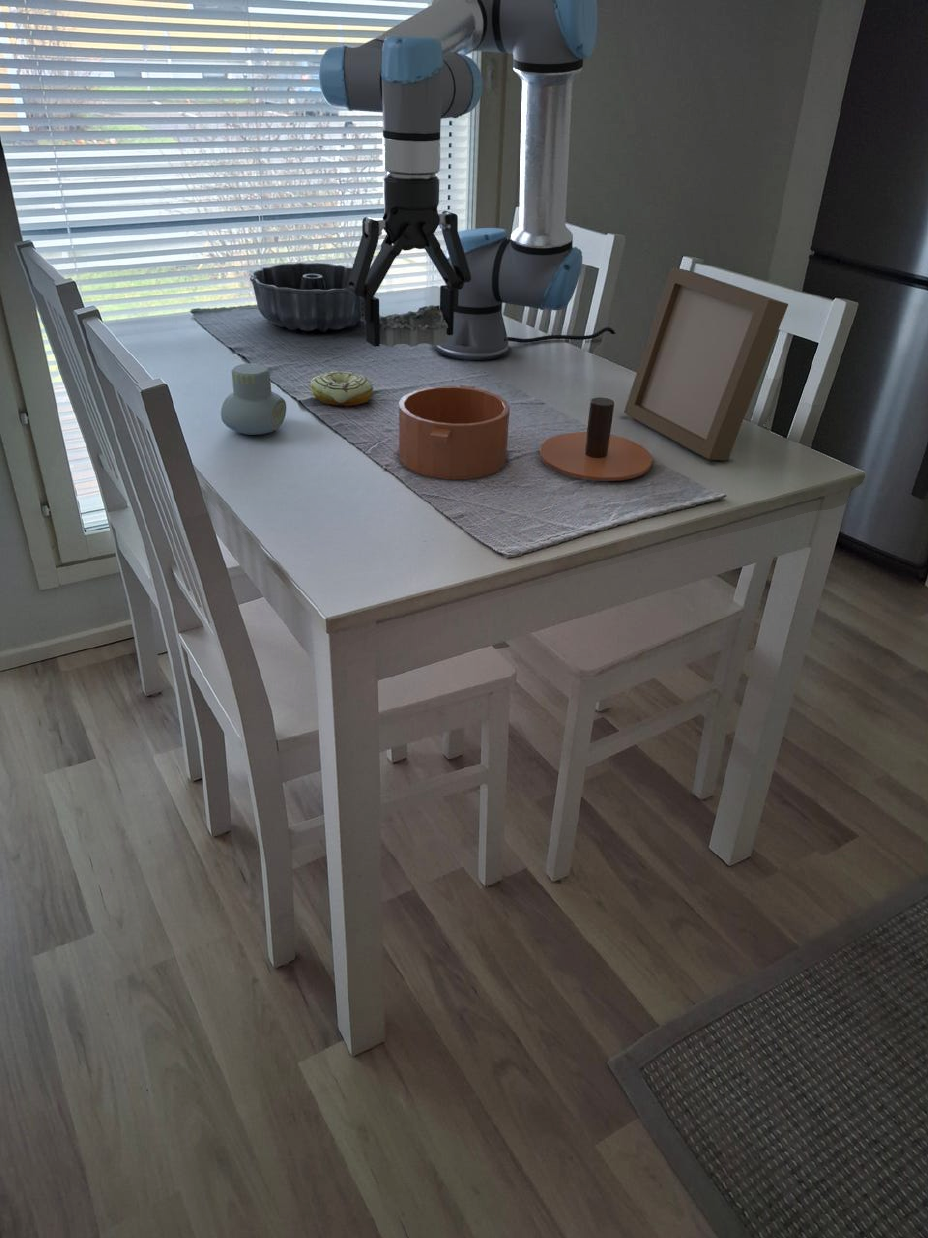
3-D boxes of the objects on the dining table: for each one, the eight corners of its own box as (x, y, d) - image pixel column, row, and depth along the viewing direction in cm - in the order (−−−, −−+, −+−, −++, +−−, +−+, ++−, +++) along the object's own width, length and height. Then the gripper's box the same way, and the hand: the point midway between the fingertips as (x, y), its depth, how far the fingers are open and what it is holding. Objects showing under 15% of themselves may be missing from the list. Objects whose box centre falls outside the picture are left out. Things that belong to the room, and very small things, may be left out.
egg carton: (441, 332, 136) (442, 304, 134) (449, 347, 130) (450, 318, 128) (370, 332, 135) (370, 303, 132) (374, 347, 128) (374, 318, 126)
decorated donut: (345, 413, 155) (344, 392, 153) (299, 398, 160) (298, 378, 158) (384, 397, 162) (383, 376, 160) (339, 383, 167) (338, 363, 165)
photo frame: (707, 465, 143) (740, 303, 129) (622, 418, 159) (644, 268, 145) (775, 449, 150) (813, 294, 136) (687, 406, 165) (714, 262, 151)
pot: (514, 436, 150) (518, 386, 145) (493, 492, 132) (497, 437, 127) (416, 425, 152) (417, 376, 147) (382, 479, 134) (382, 425, 129)
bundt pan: (329, 300, 216) (327, 256, 210) (398, 326, 200) (398, 279, 194) (230, 317, 200) (226, 270, 195) (298, 347, 184) (295, 296, 179)
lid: (652, 445, 149) (661, 388, 144) (650, 490, 134) (660, 428, 129) (545, 433, 151) (551, 377, 146) (532, 476, 137) (538, 415, 131)
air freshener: (267, 444, 143) (262, 382, 137) (218, 438, 144) (211, 377, 138) (291, 419, 152) (287, 360, 146) (244, 414, 153) (238, 355, 147)
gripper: (470, 166, 128) (464, 321, 140) (316, 173, 117) (324, 342, 129) (501, 173, 123) (492, 334, 135) (343, 182, 112) (348, 357, 124)
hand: (410, 338), depth 132 cm, fingers closed on egg carton, 12 cm apart
